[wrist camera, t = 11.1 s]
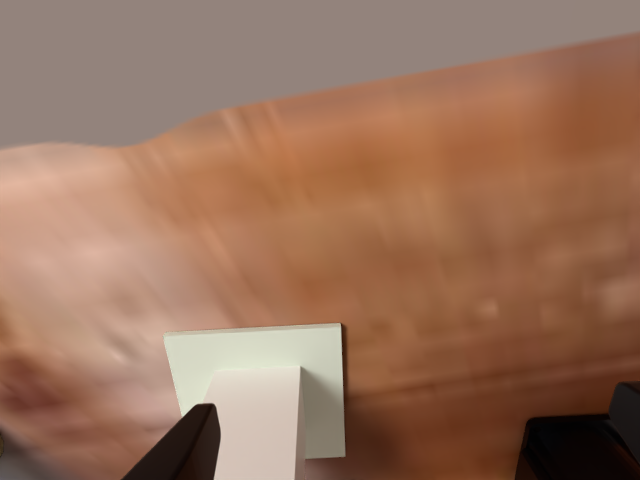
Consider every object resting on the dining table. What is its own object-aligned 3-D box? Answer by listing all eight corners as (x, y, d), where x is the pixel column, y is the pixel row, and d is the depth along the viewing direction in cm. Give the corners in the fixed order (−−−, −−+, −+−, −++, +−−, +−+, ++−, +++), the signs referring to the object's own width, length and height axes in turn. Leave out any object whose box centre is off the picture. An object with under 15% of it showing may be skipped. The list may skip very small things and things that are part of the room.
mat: (340, 322, 20) (341, 326, 19) (344, 451, 23) (345, 456, 23) (165, 332, 20) (162, 336, 19) (195, 459, 23) (193, 464, 23)
